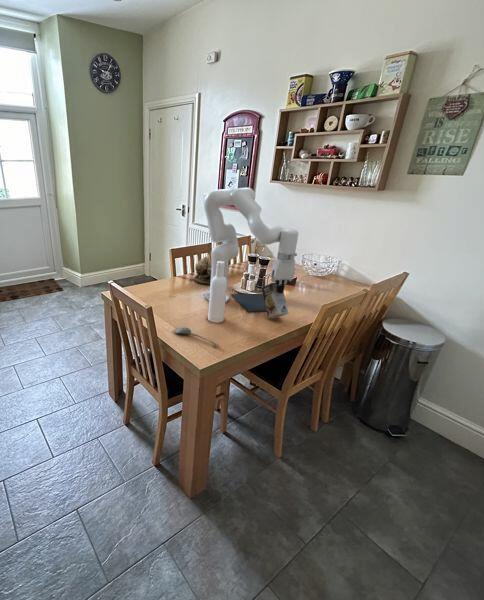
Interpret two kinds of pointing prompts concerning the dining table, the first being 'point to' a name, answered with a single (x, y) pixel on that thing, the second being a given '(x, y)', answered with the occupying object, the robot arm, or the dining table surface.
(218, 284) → the bottle
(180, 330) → the soupspoon
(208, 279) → the owl figurine
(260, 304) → the mat
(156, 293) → the dining table surface
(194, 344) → the dining table surface
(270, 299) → the coffee box
